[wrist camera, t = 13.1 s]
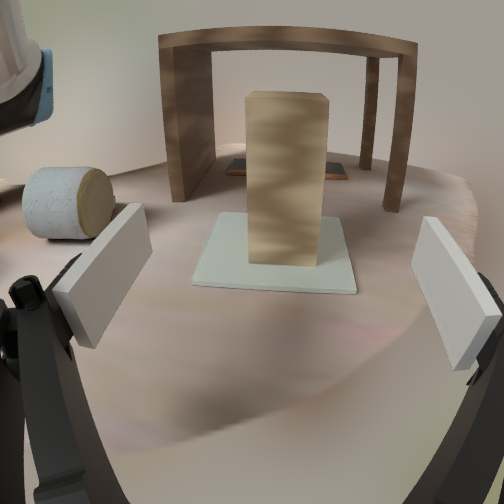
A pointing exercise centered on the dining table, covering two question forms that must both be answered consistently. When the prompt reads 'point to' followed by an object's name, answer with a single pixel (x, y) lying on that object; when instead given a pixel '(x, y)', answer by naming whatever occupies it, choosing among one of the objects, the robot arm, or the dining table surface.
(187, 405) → the dining table surface
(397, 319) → the dining table surface
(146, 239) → the robot arm
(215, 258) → the pad
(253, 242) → the maple block
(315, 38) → the small wooden table
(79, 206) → the ceramic mug
